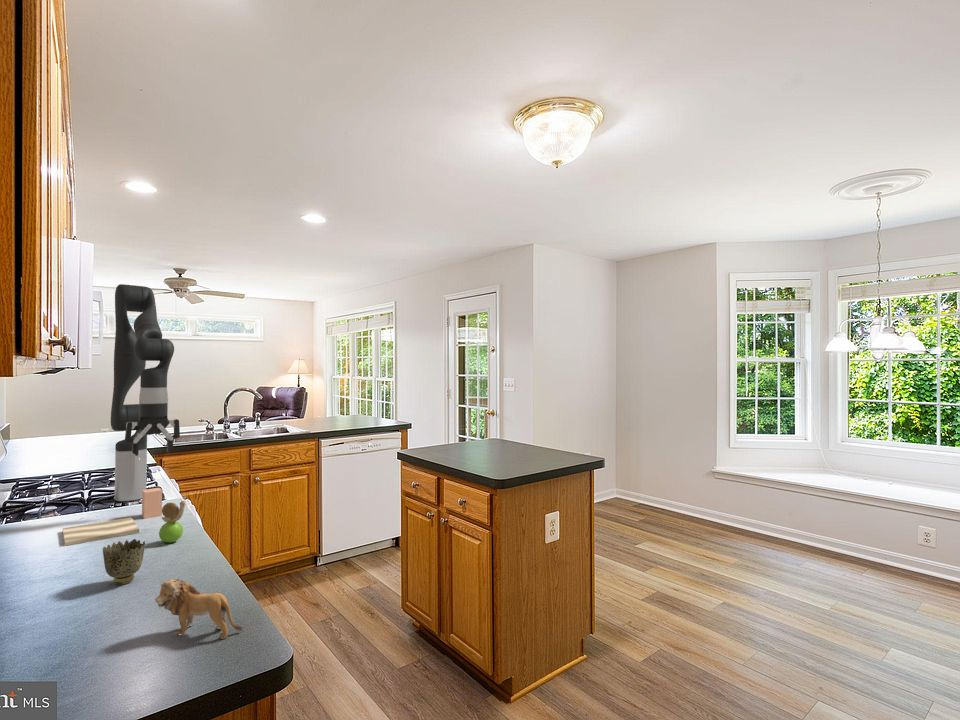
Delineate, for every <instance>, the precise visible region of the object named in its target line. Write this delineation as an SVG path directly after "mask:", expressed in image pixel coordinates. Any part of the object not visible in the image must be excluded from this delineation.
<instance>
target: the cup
mask: <svg viewBox="0 0 960 720" xmlns="http://www.w3.org/2000/svg"><path fill="white" fill-rule="evenodd" d="M145 546H146V541H145V540H143V541H142V542H141V540H140V539H138V540H137V539H136V538H133V539H132V540H130V541H128V539H127V540H125V541H124V544H123V542H122V541H118V542H117V543H116V542H113V543H112V544H111V545H110V544H108V545H107V547H106V546H103V547H102V557H103V562H104V569H105V572H106V574H107V575H108V576H109V577H111V578H113V580H112V581H113V583H114V585H117V586H118V585H119V586H122V585H126V584H130V583H131V582H133V580H134V579H135V574H136V572H138V571H139V569H141V567H142V565H143V564H142V563H143V559H144V555H145Z"/></svg>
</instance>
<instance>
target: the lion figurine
mask: <svg viewBox="0 0 960 720" xmlns="http://www.w3.org/2000/svg"><path fill="white" fill-rule="evenodd" d="M154 600H155V603H156V604H157V607H158V608H160V609H161V608H163V609H165V610H167V611H169V612H170V614H171V615H174V616H178V621H179V625H180V630H177V633H176V635H177V634H178V635H179V634H183V635H185V634H186V633H187V631H188V628H187V627H188V626H191V627H192V626H193V625H194V618H195V617H194V616H196V617H198V616H199V617H204V616H206V615H209V617H210V619H211V621H212V622H213V623H214V625H215V626H216V629H217V630H221V633H220V634H219V640H223V639H226V638H227V637H228V636H229V635H228V634H229V630H228V626H227V619H226V616H227V618H228V621H229V623H230V624H231V626H232V627H233V628H234V629H235V630H237V631H243V630H244V627H243V626H241V625H237V624H236V623H235V622H234V620H233V616H232V614H231V610H230V609H231V608H230V606H229V603H228V598H227V597H226V596H225V595H224V594H222V593H220V592H214V593H201V592H199V591H198V590H197V589H196V587H195V586H193V585H192V584H191V583H188V582H187V581H183V580H181V579H178V578H177V579H175V578H172V579H167V580H166V581H163V583H161V584H160V591H159V595H157V597H156V598H155V599H154ZM184 633H185V634H184ZM178 635H177V636H178Z"/></svg>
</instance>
